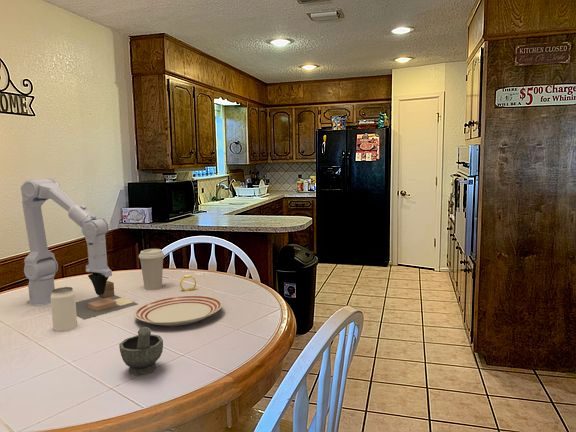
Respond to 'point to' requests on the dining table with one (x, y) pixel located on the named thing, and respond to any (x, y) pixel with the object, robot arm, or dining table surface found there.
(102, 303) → the tile
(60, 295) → the can
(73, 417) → the dining table surface
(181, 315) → the dinner plate
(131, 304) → the mat
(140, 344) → the mortar and pestle
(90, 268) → the robot arm
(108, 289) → the block
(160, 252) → the coffee cup
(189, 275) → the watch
